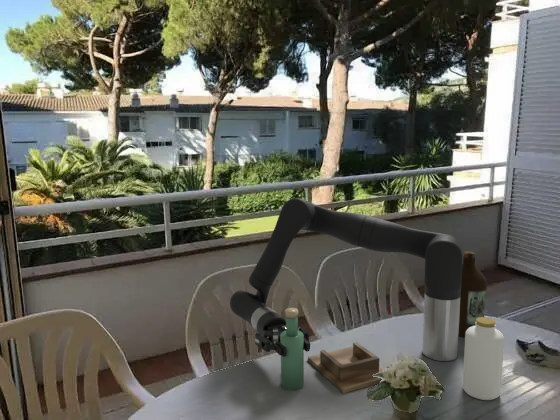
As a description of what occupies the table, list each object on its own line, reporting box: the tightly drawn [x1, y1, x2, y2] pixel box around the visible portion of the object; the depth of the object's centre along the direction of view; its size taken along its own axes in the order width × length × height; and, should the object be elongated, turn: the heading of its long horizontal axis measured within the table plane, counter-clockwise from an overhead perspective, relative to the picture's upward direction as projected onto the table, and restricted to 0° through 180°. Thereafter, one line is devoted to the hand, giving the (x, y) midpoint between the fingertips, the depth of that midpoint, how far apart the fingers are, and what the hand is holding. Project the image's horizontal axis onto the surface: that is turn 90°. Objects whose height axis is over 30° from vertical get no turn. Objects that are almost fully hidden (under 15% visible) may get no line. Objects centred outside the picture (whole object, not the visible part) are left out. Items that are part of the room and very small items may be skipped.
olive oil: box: [458, 250, 488, 338], centre depth 143 cm, size 11×11×25 cm
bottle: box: [280, 307, 305, 391], centre depth 115 cm, size 6×6×19 cm
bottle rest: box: [307, 342, 384, 394], centre depth 122 cm, size 18×14×4 cm
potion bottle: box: [462, 316, 505, 401], centre depth 110 cm, size 8×8×18 cm
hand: (296, 350), depth 112 cm, fingers closed on bottle, 5 cm apart
